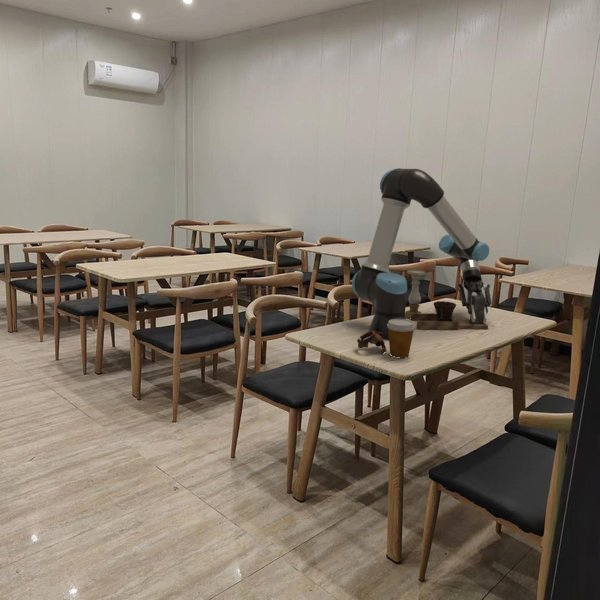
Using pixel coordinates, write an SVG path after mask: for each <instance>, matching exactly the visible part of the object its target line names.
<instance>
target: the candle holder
mask: <svg viewBox="0 0 600 600" xmlns="http://www.w3.org/2000/svg"><path fill="white" fill-rule="evenodd" d="M406 272H407V274H408V275H411V276H410V277H411V278H412V281H411V283H410V284H411V292H410V293H409V295H408V302H409V304H408V307H409V310H407V311H406V310H405V318H406V319H409V318H411V313H422V311H419V308H420V307H421V305H420V304H421V301H422V297H421V294H420V291H419V290H420V289H419V288H420V287H419V286H420V285H421V282H420V279H421V277H422V275H423V276H424V275H426V271H424V270H420V269H410V270H407V271H406Z"/></svg>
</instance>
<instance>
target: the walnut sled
mask: <svg viewBox="0 0 600 600" xmlns="http://www.w3.org/2000/svg"><path fill="white" fill-rule="evenodd" d="M485 300H486V298H485V296H484V297H483V296H481V295H477V294H476V295H475V294H472V300H471V305H473V306H474V312H475V318H476V319H475V321H474V322H472V319H471V314H469V316H470V317H469V319H468V318H467V319H466V318H464V319H463V318H454V316H453V315H452V316H451V319H450V322H439V321H437V314H436V312H434V313H426V312H425V313H424V312H421V313H411V319H409V320H411V321H415V320H420V321H416V325H415V328H416V330H450V331H451V330H456V331H457V330H459V329H468V330H469V329H471V330H472V329H473V330H474V329H475V330H478V329H479V330H481V329H482V330H485V329H486V330H488V329H489V325H487V323H486V322H484V321H483V320H484V310H485Z"/></svg>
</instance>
